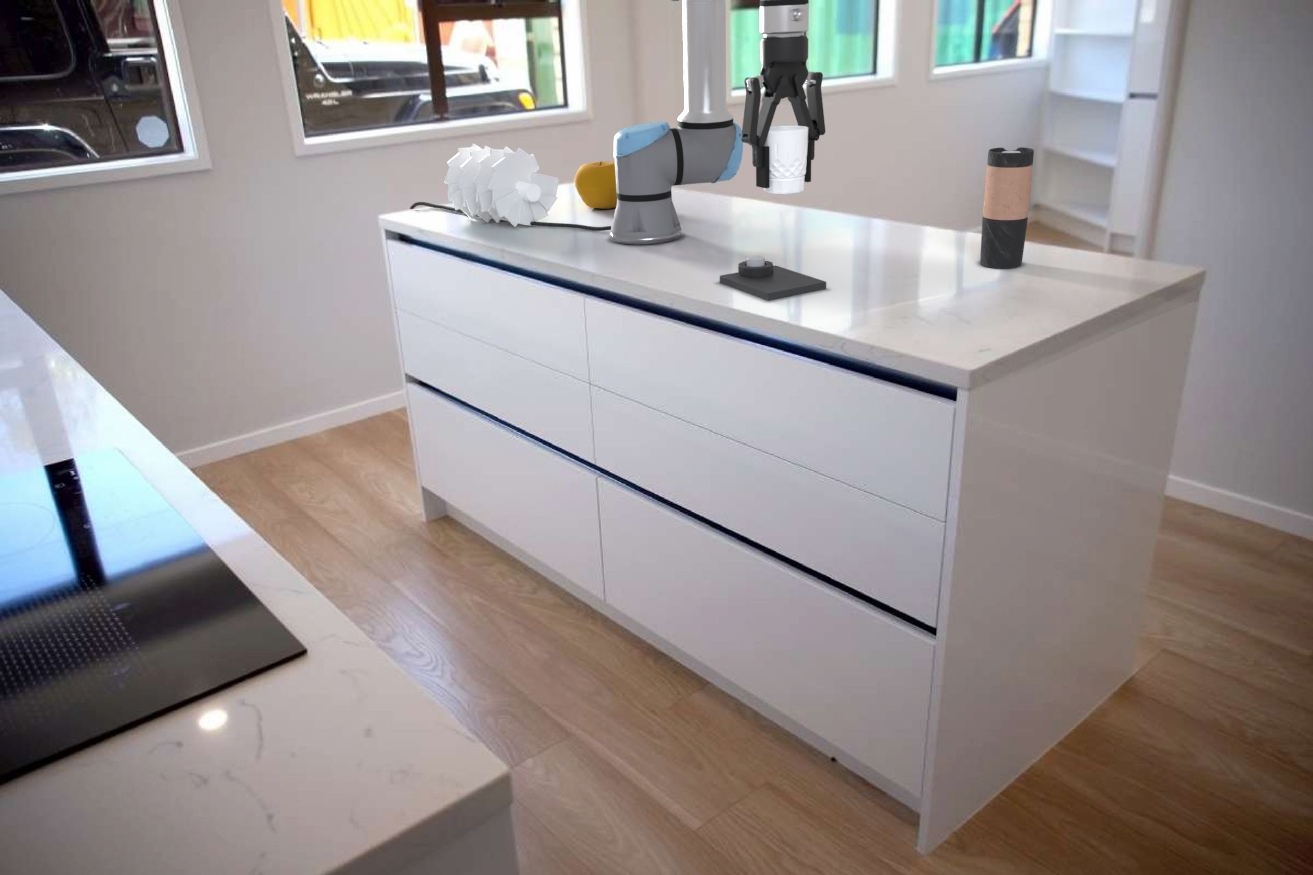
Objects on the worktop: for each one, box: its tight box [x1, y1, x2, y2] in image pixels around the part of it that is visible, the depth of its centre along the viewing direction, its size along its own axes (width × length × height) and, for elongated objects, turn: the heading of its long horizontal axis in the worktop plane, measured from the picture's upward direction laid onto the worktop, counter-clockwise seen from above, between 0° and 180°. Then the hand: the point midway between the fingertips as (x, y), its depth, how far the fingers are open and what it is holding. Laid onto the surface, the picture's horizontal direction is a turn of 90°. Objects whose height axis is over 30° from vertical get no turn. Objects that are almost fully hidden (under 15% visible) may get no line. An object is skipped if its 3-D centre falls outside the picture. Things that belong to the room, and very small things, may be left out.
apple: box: [573, 160, 617, 210], centre depth 247 cm, size 13×13×11 cm
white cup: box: [763, 125, 809, 195], centre depth 163 cm, size 8×8×10 cm
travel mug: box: [979, 146, 1035, 270], centre depth 176 cm, size 8×8×20 cm
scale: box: [719, 260, 827, 302], centre depth 173 cm, size 16×12×3 cm
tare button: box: [746, 255, 766, 267], centre depth 176 cm, size 3×3×2 cm
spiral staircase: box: [443, 142, 560, 228], centre depth 235 cm, size 18×18×25 cm
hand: (783, 184), depth 165 cm, fingers closed on white cup, 8 cm apart
